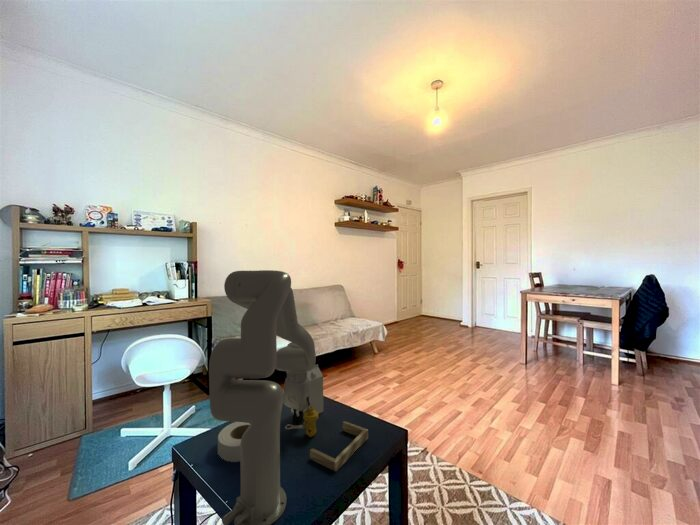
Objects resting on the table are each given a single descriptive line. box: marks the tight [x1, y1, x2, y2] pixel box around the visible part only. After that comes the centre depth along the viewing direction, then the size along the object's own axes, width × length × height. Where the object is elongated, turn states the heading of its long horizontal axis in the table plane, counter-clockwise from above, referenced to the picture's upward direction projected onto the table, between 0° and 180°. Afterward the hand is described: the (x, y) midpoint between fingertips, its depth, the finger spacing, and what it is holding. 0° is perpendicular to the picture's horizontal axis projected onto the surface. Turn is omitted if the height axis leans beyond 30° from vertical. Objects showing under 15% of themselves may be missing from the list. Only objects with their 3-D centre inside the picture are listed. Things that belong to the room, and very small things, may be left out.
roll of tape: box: [217, 422, 250, 463], centre depth 95 cm, size 16×16×6 cm
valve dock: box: [309, 420, 369, 473], centre depth 94 cm, size 19×10×3 cm, turn 147°
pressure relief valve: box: [284, 407, 319, 438], centre depth 101 cm, size 6×12×10 cm, turn 87°
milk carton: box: [302, 364, 324, 415], centre depth 117 cm, size 7×7×19 cm
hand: (297, 424), depth 105 cm, fingers closed
